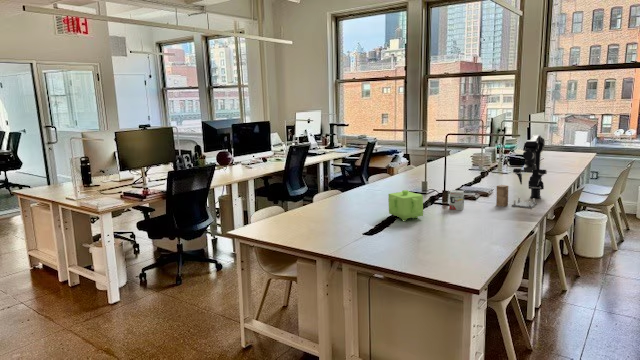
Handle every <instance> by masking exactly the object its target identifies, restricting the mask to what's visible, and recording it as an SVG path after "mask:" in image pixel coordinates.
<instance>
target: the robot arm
mask: <svg viewBox="0 0 640 360" xmlns="http://www.w3.org/2000/svg"><path fill="white" fill-rule="evenodd" d="M545 144H546V141H545V138H543V137H542V136H541V135H540V134H532V135H531V138H530V139H527V140H526V141H525V142H524V145H523V149H522V151H523V154H522V157H523V159H524V160H525V163H524V165H523V169H522V168H513V170H512V173H513V174H515V175H517V177H518V179H519V184H520V185H522V184H523V173H525V174H527V173H529V174H532V175H531V176H530V177H529V179H528V189H529V190H530V195H529V196H530V197H529V198H530V199H533V198H535V199H541V197H542V196H541V191H542V190H544V189H545V185H544V182H543V178H542V177H543V176H545V175H547V172H548V170H547V169H541V154H542V152H543V151H544V148H545V146H546V145H545Z"/></svg>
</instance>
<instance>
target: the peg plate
mask: <svg viewBox="0 0 640 360" xmlns="http://www.w3.org/2000/svg"><path fill="white" fill-rule="evenodd" d="M537 205H538V204H537V202H536V198H532V201H530V200H529V201H521V197H520V196H518V197H517V200H516V199H513V203H512V204H511V207H515V208H525V209H526V208H527V209H533V208H534V207H535V206H537Z"/></svg>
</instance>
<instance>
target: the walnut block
mask: <svg viewBox="0 0 640 360" xmlns="http://www.w3.org/2000/svg"><path fill="white" fill-rule="evenodd" d="M495 201H496V204H495V205H496V206H497V207H498V206H499V207H507V206H509V185H505V184H499V185H496V199H495Z"/></svg>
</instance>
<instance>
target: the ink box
mask: <svg viewBox="0 0 640 360" xmlns="http://www.w3.org/2000/svg"><path fill="white" fill-rule="evenodd" d="M448 199H449V203H448V204H449V209H448V210H455V211H463V210H464V209H465V191H464V190H458V189H456V190H455V189H452V190H450V191H449V198H448Z"/></svg>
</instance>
